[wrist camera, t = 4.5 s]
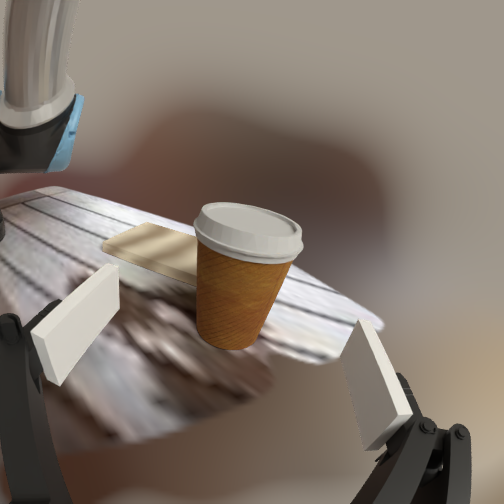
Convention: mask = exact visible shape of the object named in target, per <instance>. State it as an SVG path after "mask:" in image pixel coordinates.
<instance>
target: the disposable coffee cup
mask: <svg viewBox="0 0 504 504" xmlns="http://www.w3.org/2000/svg"><path fill="white" fill-rule="evenodd" d="M193 226H194V228H195V233H196V237H197V270H196V271H197V276H196V278H197V282H196V284H197V293H196V296H197V298H196V300H197V303H196V305H197V331H198V333H199V334H200V336H201V337H202V338H203V339H204V340H205V341H206V342H208V343H209V344H211V345H213V346H215V347H218V348H222V349H227V350H239V349H244V348H247V347H249V346H250V345H252V344H253V343H254V342H255V340H256V339H257V336H258V334H259V332H260V330H261V328H262V326H263V324H264V322H265V320H266V318H267V315H268V313H269V311H270V309H271V307H272V305H273V303H274V301H275V298H276V296H277V294H278V292H279V290H280V288H281V286H282V284H283V281H284V279H285V277H286V275H287V273H288V270H289V268H290V266H291V264H292V261H293V260H294V259H295V258H296V257H297V255H298V254H299V253H300V252H301V251H302V249H303V243H302V241H301V235H302V229H301V227H300V226H299V225H298V224H297V223H295V222H294V221H293V220H291V219H289V218H287V217H285V216H283V215H280V214H278V213H275V212H272V211H269V210H266V209H262V208H258V207H255V206H249V205H243V204H238V203H237V204H236V203H225V202H218V203H210V204H207V205H205V206H203V208H202V210H201V212H200V215H199V217H198V218H196V219H195V221H194V225H193Z"/></svg>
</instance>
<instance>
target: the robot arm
mask: <svg viewBox="0 0 504 504" xmlns="http://www.w3.org/2000/svg"><path fill="white" fill-rule="evenodd" d="M80 1H81V0H6V7H5V17H4V29H3V30H4V31H3V78H4V92H3V93H2V91H0V174H4V173H48V172H52V171H62V170H64V169H65V168H67V166H68V165H69V162H70V159H71V154H72V149H73V144H74V140H75V135H76V130H77V127H78V123H79V119H80V115H81V111H82V107H83V103H84V97H83V96H82V95H79V94H75V85H74V82H73V80H72V79H71V78H70V77H69V76H68V75H66V69H67V63H68V56H69V50H70V44H71V39H72V33H73V29H74V24H75V20H76V16H77V12H78V8H79V4H80ZM4 235H5V225H4V218H3V215H2V213H1V210H0V241H1V240H2V239H3V237H4ZM119 308H120V307H119V266H116V265H112V264H109V263H106V264H105V265H104V266H103V267H101V268H100V269H99V270H98V271H97V272H95V273H94V274H93V275H92V276H91V277H90V278H88V279H87V280H86V281H85V282H84V283H83V284H81V285H80V286H79V287H78V288H77V289H76V290H74V291H73V292H72V293H71V294H70V295H69V296H68V297H67V298H65V299H64V300H63V301H62V300H59V299H58V300H56V301H53V302H51V303H49V304H48V305H47V306H46V307H45V308H44V309H43V310H41V311H40V312H39V313H38V315H36V316H35V317H34V318H33V319H32V320H31V321H30V322H28V323H27V324H26V325H25V326H24V327H23V328H22V325H21V321H20V318H19V317H18V316H17V315H15V314H13V313H7V314H3V315H1V316H0V441H1V448H2V454H3V460H4V466H5V471H6V475H7V479H8V484H9V488H10V492H11V495H12V501H11V502H10V503H9V504H73V502H72V500H71V498H70V495H69V492H68V490H67V487H66V484H65V482H64V479H63V476H62V473H61V470H60V467H59V464H58V460H57V457H56V453H55V449H54V446H53V442H52V438H51V434H50V429H49V425H48V420H47V415H46V409H45V403H44V397H43V390H42V383H41V378H40V376H39V375H40V374H41V373H42V372H43V371H44V373H45V376H46V378H47V380H49V381H51V382H53V383H55V384H56V385H58V386H60V385H61V384H62V383H63V381H64V380H65V378H66V377H67V376H68V374H69V373H70V371H71V370H72V369H73V367H74V366H75V365H76V363H77V362H78V361H79V359H80V358H81V357H82V355H83V354H84V353H85V351H86V350H87V349H88V347H89V346H90V345H91V343H92V342H93V341H94V340H95V338H96V337H97V336H98V335H99V333H100V332H101V331H102V329H103V328H104V327H105V326H106V324H107V323H108V322H109V321H110V319H111V318H112V317H113V316H114V315H115V313H116V312H117V311H118V310H119ZM340 359H341V362H342V366H343V369H344V373H345V376H346V380H347V384H348V388H349V391H350V395H351V399H352V403H353V407H354V411H355V415H356V419H357V423H358V427H359V432H360V436H361V440H362V444H363V449H364V451H373V450H379V449H380V448H381V447H382V446H383V445H384V444H385V443H386V446H387V450H386V451H385V452H384V453H383V454H381V455H380V456H379V457H378V458H377V459H376V460H375V462H377V461H378V460H379V459H380V460H379V462H378V463H377V465H376V467H375V468H374V470H373V471H372V473H371V474H370V476H369V478H368V479H367V481H366V482H365V484H364V485H363V487H362V488H361V490H360V491H359V492H358V494H357V495H356V497H355V498H354V499H353V501H352V502H351V503H350V504H470V496H471V437H470V433H469V431H468V429H467V428H466V427H465V426H464V425H462V424H454V425H453V426H452V427H451V428H450V429H449V430H444V429H439V428H437V425H436V424H435V423H434V421H432V420H431V419H429V418H427V417H423V416H422V413H421V411H420V409H419V407H418V404H417V402H416V400H415V398H414V396H413V393H412V391H411V389H410V387H409V385H408V382H407V380H406V379H405V378H404V377H403V376H402V375H401V374H400V373H395V372H394V369H393V367H392V365H391V363H390V361H389V358H388V356H387V354H386V352H385V350H384V348H383V346H382V344H381V342H380V340H379V338H378V335H377V333H376V331H375V329H374V327H373V325H372V324H371V322H370V321H368V320H361V319H358V321H357V323H356V325H355V327H354V329H353V331H352V333H351V335H350V337H349V339H348V341H347V343H346V345H345V347H344V349H343V351H342V353H341V355H340ZM442 465H443V468H442Z"/></svg>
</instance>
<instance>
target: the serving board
mask: <svg viewBox="0 0 504 504" xmlns="http://www.w3.org/2000/svg"><path fill="white" fill-rule="evenodd" d="M103 252H105V253H108V254H110V255H113V256H115V257H118V258H120V259H123V260H126V261H128V262H131V263H133V264H136V265H139V266H141V267H144V268H146V269H149V270H152V271H154V272H157V273H160V274H163V275H165V276H168V277H171V278H173V279H176V280H179V281H182V282H185V283H187V284H190V285H193V286H196V287H197V284H196V282H197V278H196V276H197V271H196V270H197V237H195V236H192V235H189V234H185V233H182V232H179V231H175V230H172V229H169V228H165V227H162V226H159V225H155V224H152V223H149V222H146V223H143V224H141V225H139V226H136V227H134V228H132V229H130V230H127V231H125V232H123V233H121V234H119V235H116V236H114V237H112V238H110V239H108V240H106V241H103Z"/></svg>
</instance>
